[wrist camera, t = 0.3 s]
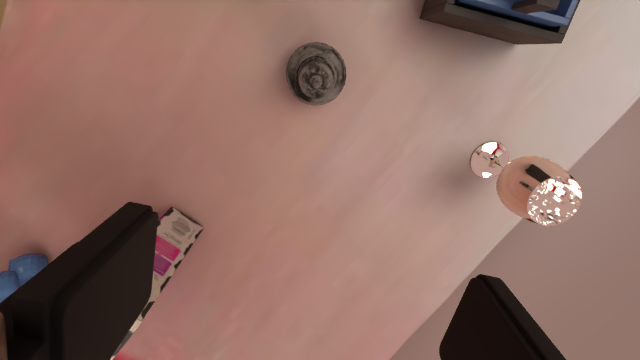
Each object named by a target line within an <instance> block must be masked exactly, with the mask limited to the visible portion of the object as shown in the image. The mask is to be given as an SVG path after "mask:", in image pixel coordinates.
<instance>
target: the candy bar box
mask: <svg viewBox="0 0 640 360" xmlns="http://www.w3.org/2000/svg"><path fill="white" fill-rule="evenodd" d="M203 229H204V228H203V227H202V226H201V225H199V224H198V223H196V222H195V221H193V220H192V219H190V218H189V217H187V216H186V215H184V214H183V213H182V212H180V211H179V210H177V209H175V208H174V207H171V208H170V209H169V210H168V211H167V212H166V213H165V214H164V215H163V216H162V217H161V218H160V220H159V221H158V226H157V237H156V247H155V258H154V269H153V280H152V291H151V295H150V298H149V301H148V303H147V305H146V306H145V308H144V309H143V311H142V312H141V314H140V315H139V317H138V318H137V320H136V321H135V323H134V324H133V326H132V327H131V329H130V330H129V332H128V333H127V335H126V336H125V338H124V339H123V341H122V342H121V344H120V345H119V347H118V348H117V350H116V351H115V353H114V354H113V356H112V357H111V359H110V360H113V358H114V357H115V356H116V355H117V353H118V352H119V351H120V350H121V348H122V347H123V346H124V344H125V343H126V342H127V341H128V339H129V338H130V337H131V335H132V334H133V333H134V332H135V330H136V329H137V327H138V326H139V325H140V324H141V322H142V320H143V319H144V317H145V315H146V314H147V312H148V311H149V309H150V308H151V306H152V305H153V303H154V302H155V300H156V299H157V297H158V296H159V294H160V293H161V291H162V290H163V288H164V287H165V285H166V284H167V282H168V281H169V279H170V278H171V276H172V275H173V273H174V272H175V270H176V269H177V267H178V266H179V264H180V263H181V261H182V260H183V258H184V257H185V255H186V254H187V252H188V251H189V249H190V248H191V246H192V245H193V243H194V242H195V240H196V239H197V237H198V236H199V234H200V233H201V231H202V230H203Z"/></svg>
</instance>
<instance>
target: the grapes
mask: <svg viewBox="0 0 640 360" xmlns="http://www.w3.org/2000/svg"><path fill="white" fill-rule="evenodd" d="M47 265H48V259H47V258H46V256H45V255H41V254H36V255H34V254H26V255H22V256H20V257H17V258H14V259H12V260H10V262H9V269H8V271H4V272H1V273H0V303H1V302H2V301H3V300H5V299H6V298H7V297H8V296H10V295H11V294H12V293H13V292H15V291H16V290H17V289H18V288H20V287H21V286H22V285H23V284H25V283H26V282H27V281H28V280H30V279H31V278H32V277H33V276H35V275H36V274H37V273H38V272H40V271H41V270H42V269H43V268H45V267H46V266H47Z"/></svg>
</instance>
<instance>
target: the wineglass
mask: <svg viewBox="0 0 640 360" xmlns="http://www.w3.org/2000/svg"><path fill="white" fill-rule="evenodd" d="M508 161H509V153H508V150H507V149H506V147H505V146H504V145H502V144H500V143H498V142H488V143H485V144H482V145H481V146H479V147H478V148H477V149H476V150H475V151H474V153H473V155H472V157H471V161H470V165H471V168H472V171H473V172H474V173H475V174H476V175H477V176H479V177H481V178H492V177H495V176H497V175H498V178H497V183H496V190H497V194H498V196H499V198H500V200H501V201H502V203H503V204H504V205H505V206H506V207H507V208H508V209H509V210H510V211H512V212H513V213H515V214H516V215H518V216H520V217H522V218H524V219H526V220H529V221H531V222H534V223H537V224H540V225H544V226H552V225H557V224H560V223H562V222H564V221H566V220H568V219H569V218H570V217H572V216H573V215H574V214H575V213H576V211H577V210H578V208H579V207H580V204H581V201H582V189H581V187H580V185H579V184H578V183H577V182H576V180H575V179H574V178H573V177H572V176H571V175H570V174H569V173H568V172H567V171H566V170H564V169H563V168H562V167H561V166H559V165H558V164H556V163H555V162H553V161H551V160H549V159H546V158H543V157H538V156H523V157H519V158H517V159H514V160H512V161H511V162H509V163H508Z"/></svg>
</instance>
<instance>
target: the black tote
mask: <svg viewBox="0 0 640 360" xmlns="http://www.w3.org/2000/svg"><path fill="white" fill-rule="evenodd" d="M454 2H455V0H425V3H424V6H423V9H422V13H421V16H420V19H422V20H426V21H430V22H434V23H438V24H441V25H445V26H449V27H453V28H457V29H460V30H464V31H468V32H472V33H475V34H479V35H483V36H487V37H491V38H494V39H498V40H502V41H506V42H510V43H513V44H552V43H562V41H563V39H564V36H565V34H566V32H567V29H568V27H569V25H570V22H571V20H572V18H573V16H574V13H575V11H576V9H577V7H578V4H579V2H580V0H578V2H577V4H576V7H575V9H574V11H573V14H572V16H571V18H570V21H569V23H568V25H565V26H555V27H544V28H538V27H534V26H530V25H527V24H523V23H519V22H515V21H512V20H508V19H504V18H501V17H497V16H493V15H490V14H486V13H482V12H478V11H475V10H471V9H467V8H464V7H460V6H456V5H454Z"/></svg>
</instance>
